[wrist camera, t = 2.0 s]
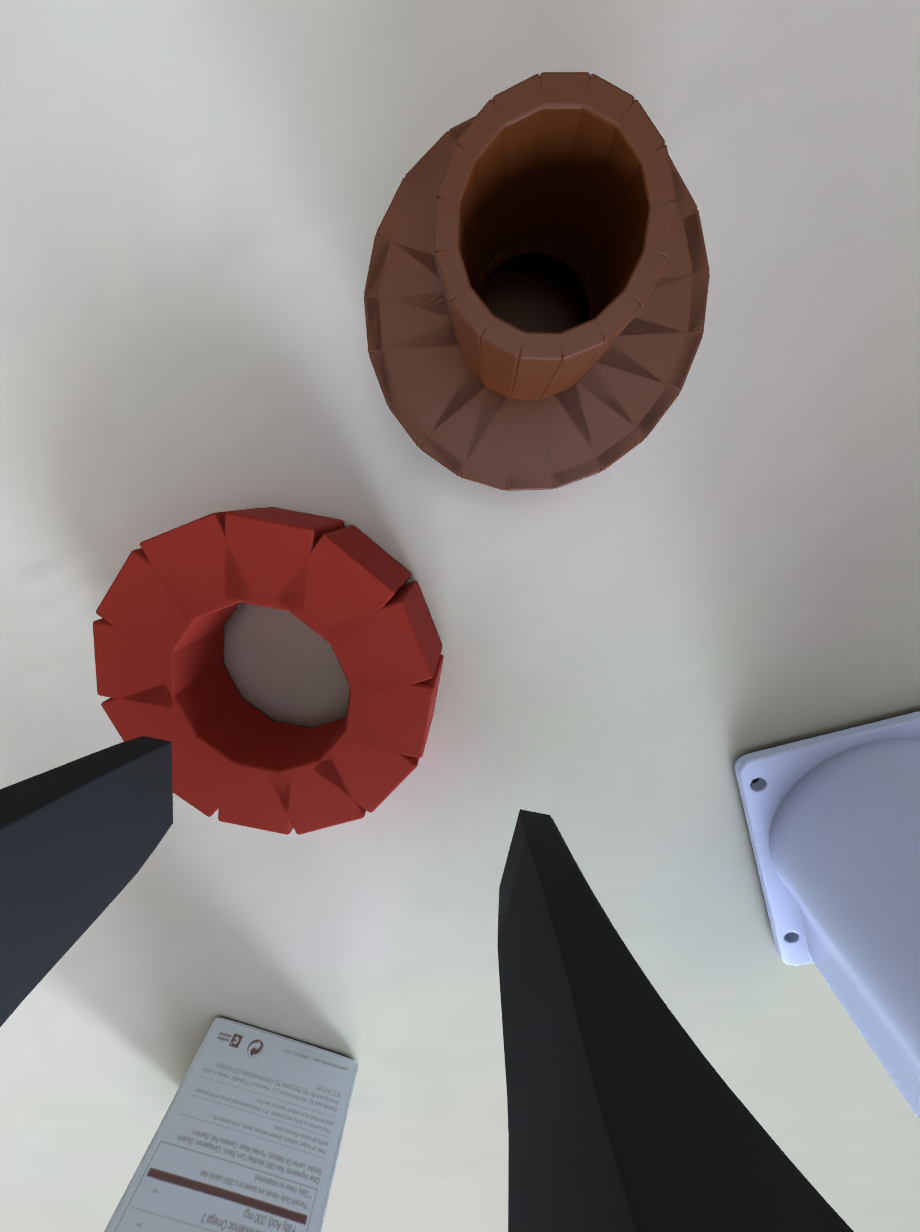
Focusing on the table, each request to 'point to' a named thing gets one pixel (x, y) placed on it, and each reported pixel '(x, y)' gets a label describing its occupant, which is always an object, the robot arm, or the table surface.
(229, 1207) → the white packaging box
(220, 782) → the red segmented ring
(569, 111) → the brown round vase
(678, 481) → the table surface
